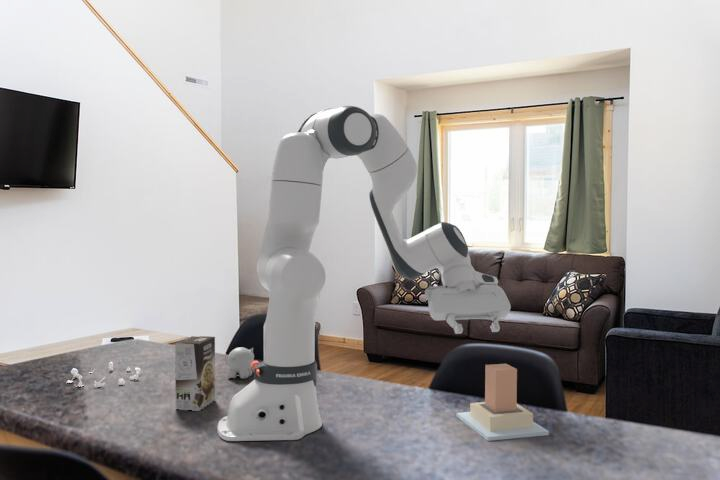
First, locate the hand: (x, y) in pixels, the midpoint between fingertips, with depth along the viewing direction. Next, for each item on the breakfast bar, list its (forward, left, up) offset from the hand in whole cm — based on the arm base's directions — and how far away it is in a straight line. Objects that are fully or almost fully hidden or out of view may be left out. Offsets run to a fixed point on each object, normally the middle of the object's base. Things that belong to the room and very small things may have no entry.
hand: (478, 331), depth 147 cm
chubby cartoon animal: (-52, +45, -19) cm, 71 cm away
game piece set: (-90, +50, -19) cm, 105 cm away
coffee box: (-65, +19, -19) cm, 70 cm away
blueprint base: (0, -12, -19) cm, 22 cm away
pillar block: (0, -12, -15) cm, 19 cm away
